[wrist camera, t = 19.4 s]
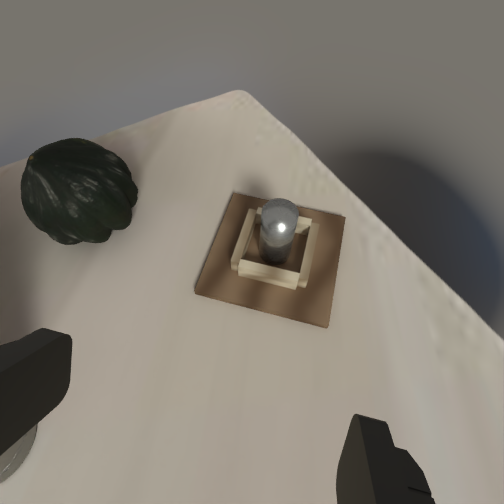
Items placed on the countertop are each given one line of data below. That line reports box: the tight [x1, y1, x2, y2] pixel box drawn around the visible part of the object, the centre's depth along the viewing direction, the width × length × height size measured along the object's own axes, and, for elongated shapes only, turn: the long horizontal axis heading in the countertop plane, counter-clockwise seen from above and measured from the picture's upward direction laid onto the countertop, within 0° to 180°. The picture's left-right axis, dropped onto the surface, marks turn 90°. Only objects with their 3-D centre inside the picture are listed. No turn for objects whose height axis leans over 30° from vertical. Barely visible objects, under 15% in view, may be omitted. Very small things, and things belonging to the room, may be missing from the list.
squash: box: [21, 138, 138, 245], centre depth 46 cm, size 14×15×15 cm
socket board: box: [194, 193, 345, 328], centre depth 47 cm, size 18×18×4 cm
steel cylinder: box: [259, 198, 299, 265], centre depth 44 cm, size 4×4×9 cm
